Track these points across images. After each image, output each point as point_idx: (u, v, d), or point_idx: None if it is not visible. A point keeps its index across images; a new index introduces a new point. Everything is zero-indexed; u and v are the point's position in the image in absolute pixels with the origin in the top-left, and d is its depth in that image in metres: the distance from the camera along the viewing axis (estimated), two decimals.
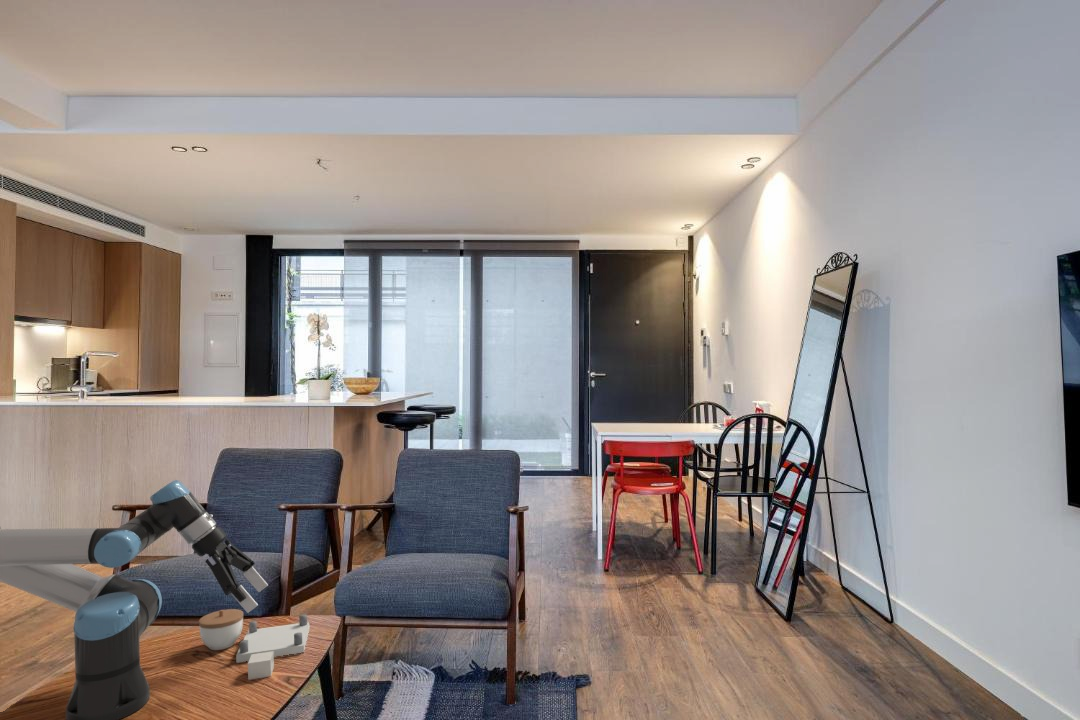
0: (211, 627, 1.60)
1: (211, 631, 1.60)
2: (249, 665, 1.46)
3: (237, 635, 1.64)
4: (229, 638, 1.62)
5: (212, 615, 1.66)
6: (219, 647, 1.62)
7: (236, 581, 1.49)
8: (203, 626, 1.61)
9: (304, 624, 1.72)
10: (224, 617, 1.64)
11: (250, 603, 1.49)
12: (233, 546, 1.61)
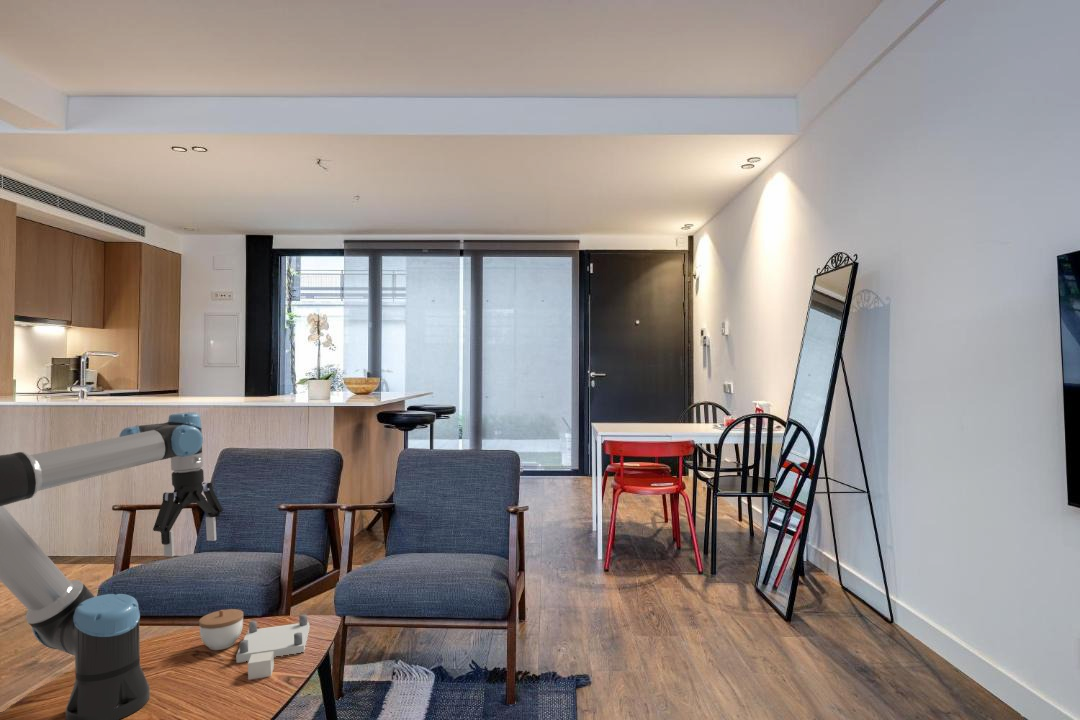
0: (211, 627, 1.60)
1: (211, 631, 1.60)
2: (249, 665, 1.46)
3: (237, 635, 1.64)
4: (229, 638, 1.62)
5: (212, 615, 1.66)
6: (219, 647, 1.62)
7: (171, 525, 1.59)
8: (203, 626, 1.61)
9: (304, 624, 1.72)
10: (224, 617, 1.64)
11: (169, 550, 1.59)
12: (211, 491, 1.72)
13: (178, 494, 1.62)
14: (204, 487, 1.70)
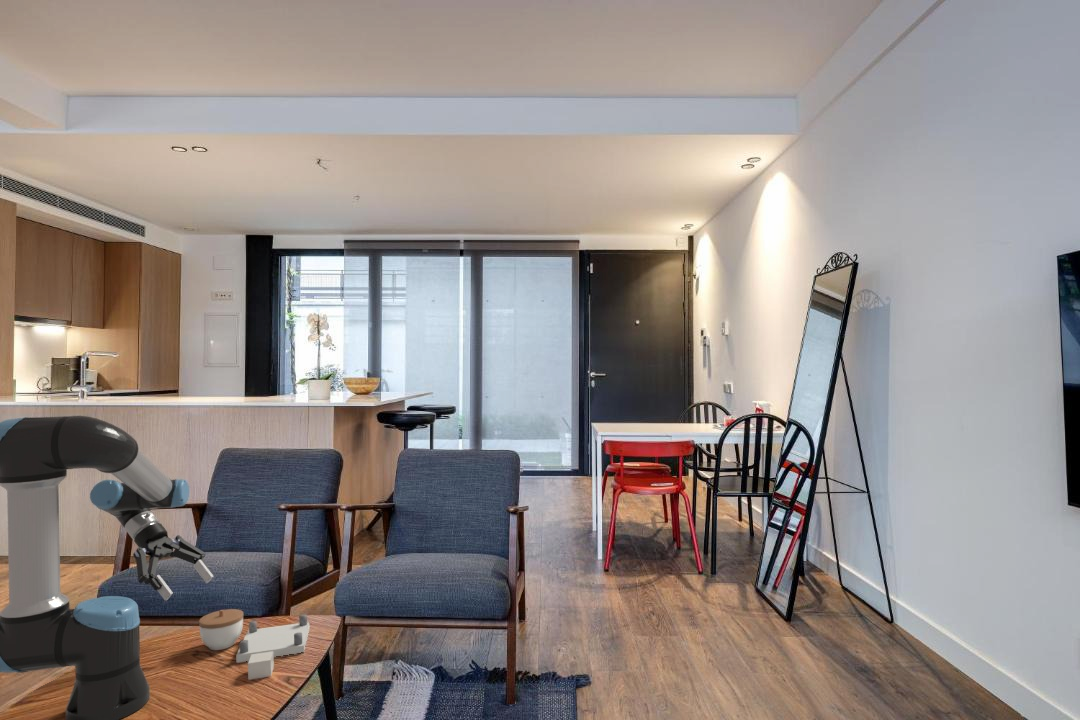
0: (211, 627, 1.60)
1: (211, 631, 1.60)
2: (249, 665, 1.46)
3: (237, 635, 1.64)
4: (229, 638, 1.62)
5: (212, 615, 1.66)
6: (219, 647, 1.62)
7: (154, 571, 1.64)
8: (203, 626, 1.61)
9: (304, 624, 1.72)
10: (225, 617, 1.64)
11: (165, 592, 1.62)
12: (183, 541, 1.78)
13: (147, 548, 1.68)
14: (174, 540, 1.77)
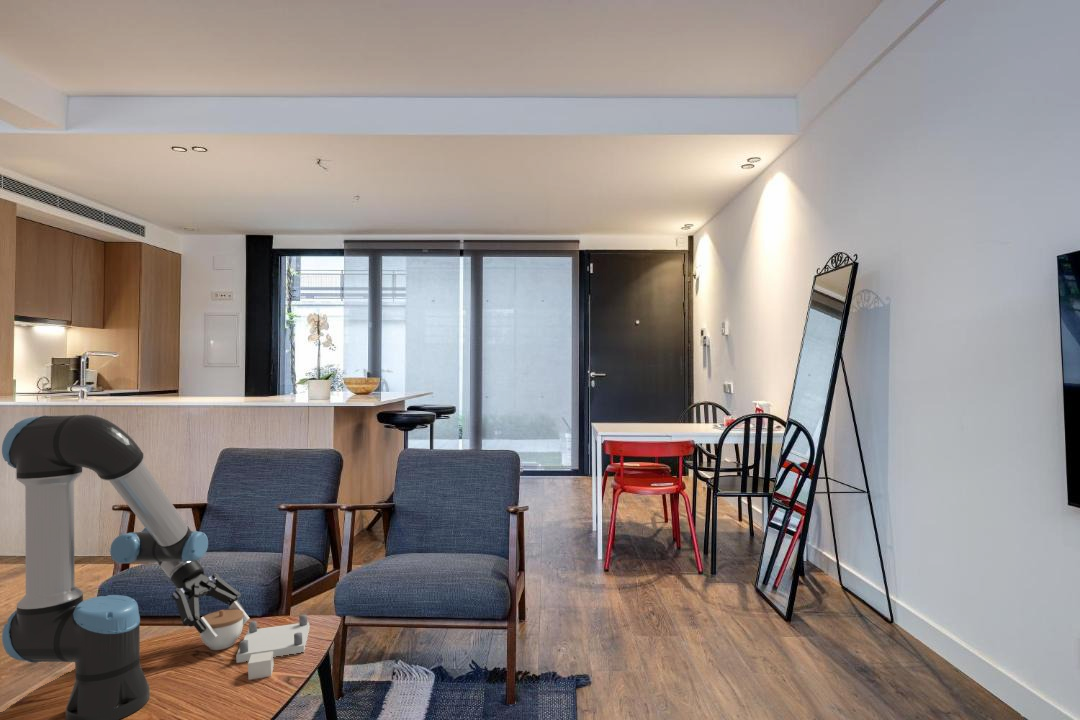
0: None
1: None
2: (249, 665, 1.46)
3: (237, 635, 1.64)
4: (229, 638, 1.62)
5: (212, 615, 1.66)
6: (219, 647, 1.62)
7: (198, 613, 1.60)
8: None
9: (304, 624, 1.72)
10: (225, 617, 1.64)
11: (210, 634, 1.59)
12: (219, 580, 1.73)
13: (185, 588, 1.64)
14: (210, 578, 1.73)
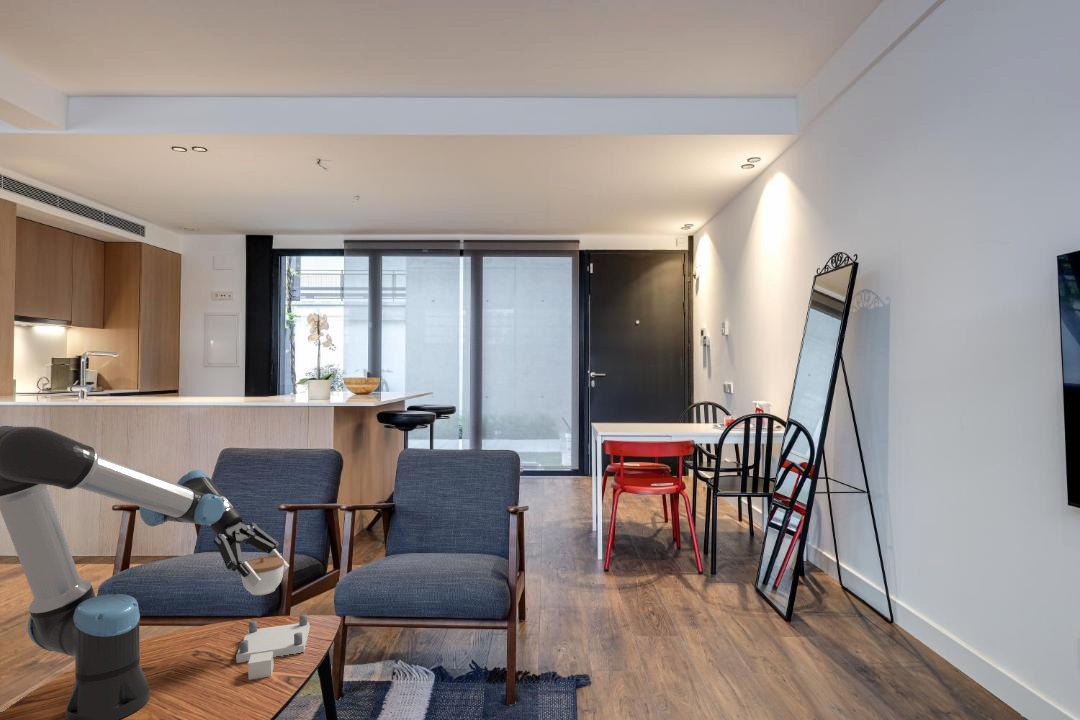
0: None
1: None
2: (249, 665, 1.46)
3: (279, 581, 1.65)
4: (272, 583, 1.63)
5: (252, 561, 1.66)
6: (261, 592, 1.62)
7: (241, 557, 1.61)
8: None
9: (304, 624, 1.72)
10: (266, 563, 1.65)
11: (254, 578, 1.59)
12: (257, 528, 1.74)
13: (226, 534, 1.64)
14: (249, 527, 1.73)
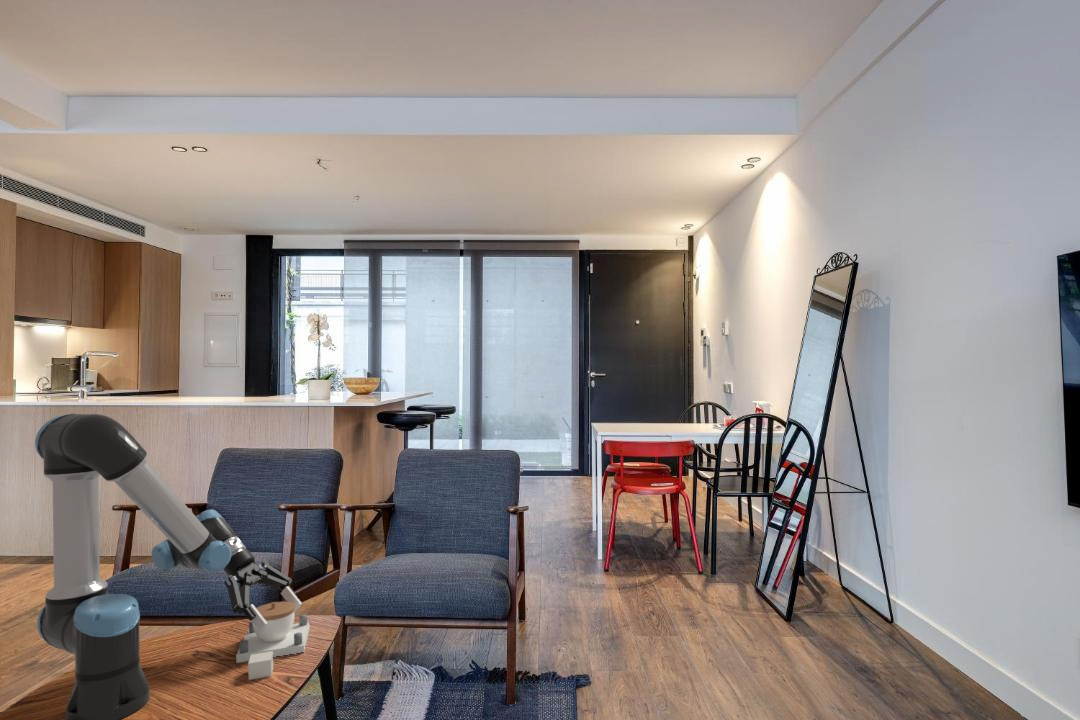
0: (265, 619, 1.59)
1: None
2: (249, 665, 1.46)
3: (289, 627, 1.63)
4: (282, 630, 1.61)
5: (264, 607, 1.65)
6: (272, 639, 1.61)
7: (247, 600, 1.59)
8: None
9: (304, 624, 1.72)
10: (277, 609, 1.63)
11: (260, 622, 1.57)
12: (269, 567, 1.73)
13: (238, 575, 1.63)
14: (260, 567, 1.72)
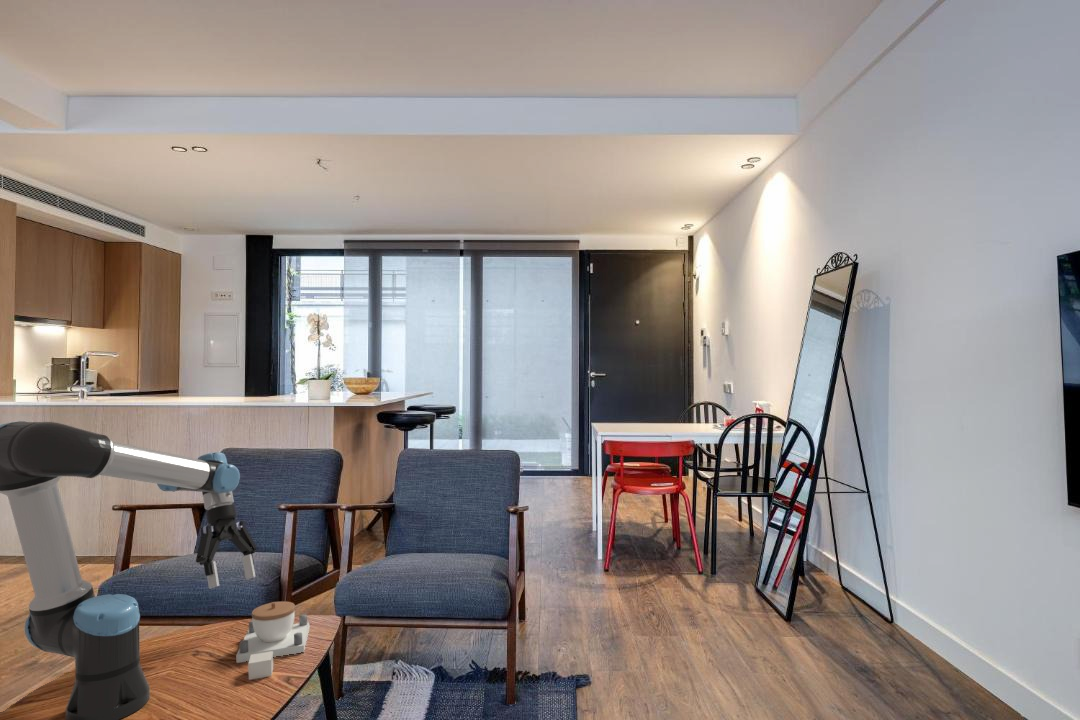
0: (265, 619, 1.59)
1: (265, 623, 1.59)
2: (250, 665, 1.46)
3: (289, 627, 1.63)
4: (282, 630, 1.61)
5: (264, 607, 1.65)
6: (272, 639, 1.61)
7: (212, 556, 1.64)
8: (256, 618, 1.60)
9: (304, 624, 1.72)
10: (277, 609, 1.63)
11: (213, 581, 1.62)
12: (244, 529, 1.78)
13: (215, 527, 1.69)
14: (237, 525, 1.77)
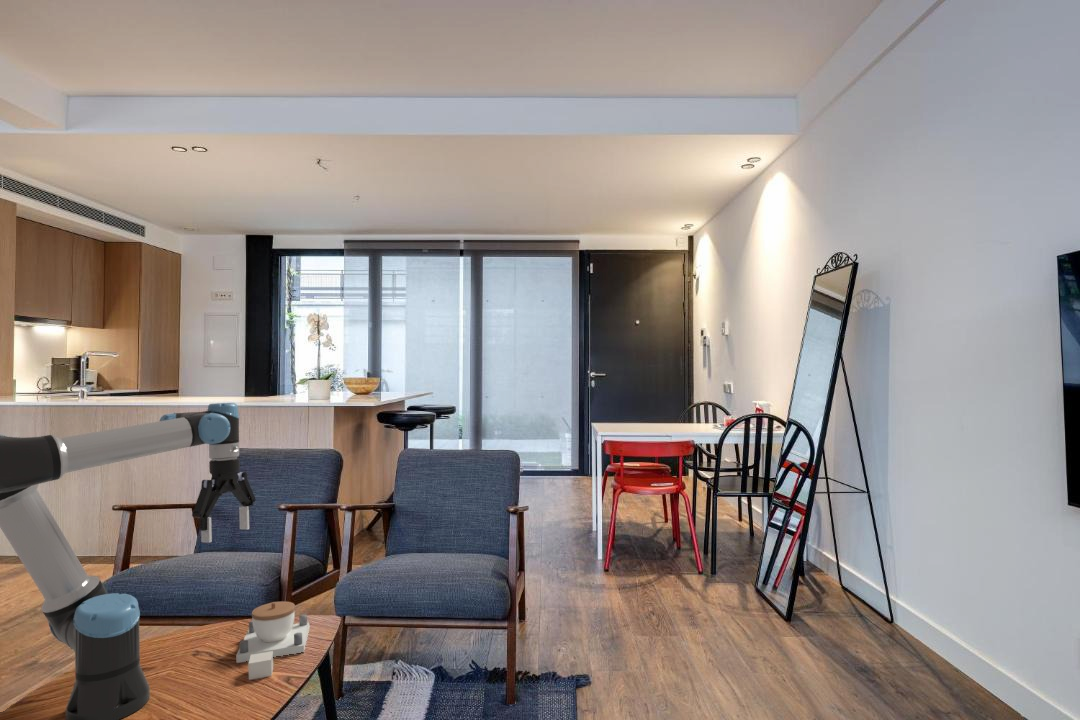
0: (265, 619, 1.59)
1: (265, 623, 1.59)
2: (250, 665, 1.46)
3: (289, 627, 1.63)
4: (282, 630, 1.61)
5: (264, 607, 1.65)
6: (272, 639, 1.61)
7: (209, 512, 1.62)
8: (256, 618, 1.60)
9: (304, 624, 1.72)
10: (277, 609, 1.63)
11: (206, 537, 1.62)
12: (246, 481, 1.75)
13: (216, 482, 1.65)
14: (239, 476, 1.74)
